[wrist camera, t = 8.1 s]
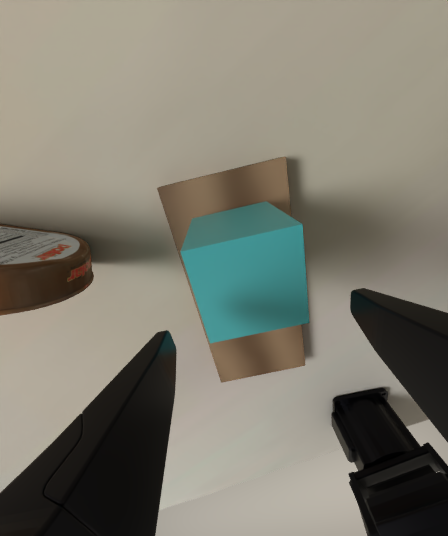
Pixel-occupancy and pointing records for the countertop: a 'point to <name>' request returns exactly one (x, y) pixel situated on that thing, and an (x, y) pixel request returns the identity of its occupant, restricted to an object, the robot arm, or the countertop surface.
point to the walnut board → (222, 199)
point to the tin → (40, 268)
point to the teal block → (247, 271)
